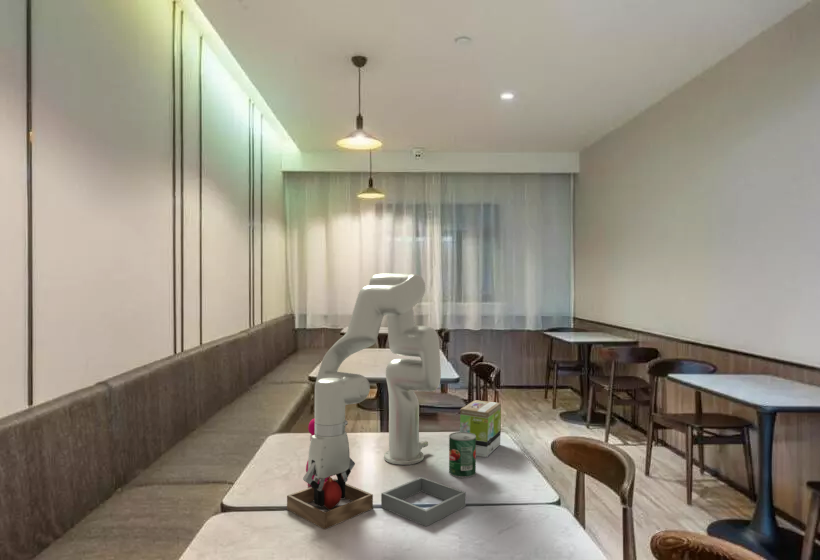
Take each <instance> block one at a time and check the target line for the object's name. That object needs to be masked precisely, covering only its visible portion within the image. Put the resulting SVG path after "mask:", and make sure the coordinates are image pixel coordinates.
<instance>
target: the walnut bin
mask: <svg viewBox="0 0 820 560" xmlns="http://www.w3.org/2000/svg"><path fill="white" fill-rule="evenodd" d="M332 479H333V480H334V481H336V480H338V479H336V478H332ZM373 498H374V495H373V494H372V493H370V492H367V491H365V490H364V489H363V490H362V489H361V488H358V487H355V486H353V485H351V484H349V483H347V482H345V498H344V499H347V500H349V501H350V502H347V503H344V504H342V505H340V506H337V507H334V508H332V509H331V510H328V511H324V510H321V509H319V508H318V507H316V506H313V505H311V504H310V503H312V502H314V489H313V488H312V487H310V486H309V487H307V488H304V489H302V490H298V491H296V492H294V493H291V494H288V495H286V510H287V511H289V512H291V513H292V514H294V515H297V516H298V517H300V518H303V519H304V520H306V521H308V522H310V523H312V524H314V525H316V526H318V527H319V528H321V529H323V530H327V529H328V528H331V527H333V526H336V525H338V524H340V523H342V522H345V521H347V520H349V519H352V518H355V517H357V516H359V515H361V514H363V512H364V513H366V512H368V511H370V510H372V509H374V504H373V503H374V499H373Z"/></svg>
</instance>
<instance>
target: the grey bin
mask: <svg viewBox="0 0 820 560" xmlns="http://www.w3.org/2000/svg"><path fill="white" fill-rule="evenodd" d="M422 491H423V492H422ZM418 492H419V493H421V492H422V493H425V494H428V495H430V494H431V496H433V497H436V498H438V499H441V500H443V501H441V502H439V503H437V504H434V505H432V506H431V507H429V508H426V509H425V508H423V507H421V506H418V505H415V504H414V503H413V504H412V503H411V502H408V501H406V500H405V499H408V498H409V497H411V496H414V495H416V494H419V493H418ZM466 495H467V494H466V491H463V490H460V489H458V488H454V487H452V486H449V485H446V484H443V483H440V482H437V481H434V480H432V479H429V478H426V477H423V476H420V477H418V478H415V479H413V480H410V481H408V482H405V483H403V484H401V485H398V486H395V487H394V488H393V487H392V488H391V489H389V490H386V491H384V492H381V495H380V496H381V500H380V501H381V506H380V507H381V508H382V509H385V510H387V511H390V512H391V513H393V514H397V515H399V516H401V517H403V518H405V519H408V520H410V521H413V522H415V523H417V524H420V525H421V526H424V527H428V526H430V525H432V524H433V523H436V522H438V521H440V520H441V519H443V518H446V517H447V516H449V515H451V514H453V513H455V512H457V511H459V510H461V509H463V508H465V507H466V503H467V502H466V499H467V496H466Z"/></svg>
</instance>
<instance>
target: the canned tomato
mask: <svg viewBox="0 0 820 560" xmlns="http://www.w3.org/2000/svg"><path fill="white" fill-rule="evenodd" d="M448 439H449V441H448V443H449V444H448V452H449V453H448V457H449V458H448V473H449V476H452V477H455V478H461V479H462V478H463V479H467V478H472V477H474V476H475V475H476V474H477V473H476V472H477V471H476V469H477V468H476V466H477V459H476V458H477V456H476V435H475V434H472V433H468V432H460V431H456V432H452V433H449V435H448Z"/></svg>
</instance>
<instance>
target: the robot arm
mask: <svg viewBox="0 0 820 560" xmlns="http://www.w3.org/2000/svg"><path fill="white" fill-rule="evenodd" d="M425 292H426V283H425V280H424V278H423V277H422V276H421V275H419V274H417V273H396V272H395V273H394V272H393V273H392V272H391V273H390V272H389V273H388V272H387V273H385V272H384V273H378V274H373V276H371V277H370V279H369V285H365V286H363V287H362V288H361V289H360V290H359V292H358V293H357V298H356V300H355V304H354V307H353V311H352V314H351V317H350V321H349V323H348V325H347V331H346V332H345V334H344V335H343V336H341V337H340V338H339V339H338V340H337V341H336V342H334V344H333V345H332V346H331V347H330V348H329V349H328V351H326V353H325V355H324V356H323V358H322V361H321V363H320V366H319V368H318V373H317V376H316V379H315V383H314V418H315V435H313V436H312V438H311V441H310V444H309V449H308V459H307V461H308V471H307V472H305V474H304V475H303V478H302V480H303V481H304V482H305V483H307V485H308V484H309V485H310V486H311V487H312V488H313V489H314V501H313V502H314V505H317V506H318V507H320V508H323V507H325V506H324V490H322V488H323V485H324V481H325V478H328V477H331V478H332V477H333V476H336V478H337V480H336V481H335V482H337V484H338V485H339V486H340V487H341V490H342V496H341V500H343V499H344V500H345V499H346V498H345V483H347V482H348V480H349V478H348V477H349V476H350V474H351V471H352V469H353V468H354V466H355V464H356V463H355V461H354V460H353V459H352V458H351V457H350V456H351V454H350V453H351V452H350V444H349V443H350V442H349V437H348V432H347V431H346V426H347V425H349V423H348V420H347V419H346V406H347V405H353V404H354V405H355V404H359V403H361V402H363V401H365V400H366V399H367V398H368V396H369V393H370V391H371V390H370V389H371V386H370V384H371V383H370V382H369V379H368V378H367V377H365V376H364V375H363V374H360V373H359V374H358V373H351V372H350V373H349V372H345V371H344V372H342V371H339V368H340V366H341V364H342V363H343V362H344V361H345V360H346V359H347V358H349V357H350V356H351V355H353V354H355V353H359V352H361V351H363V350H365V349H368V348H369V347H372V346H373V345H375V344H376V343H377V341H378V336H379V332H380V329H381V326H382V323H383V319H384V316H386V321H387V336H388V339H387V340H388V347H389V350H390V352H391V354H393V355H398V356H405V357H417V358H420V359H413V358H404V357H402V358H401V357H400V358H399V357H398V358H394V359H391V360H390V361H389V362H388V364H387V366H386V368H385V378H386V385H387V391H388V451H386V452H385V453H383V459H384V461H386V462H387V463H389V464H393V465H399V466H400V465H402V466H405V465H407V466H408V465H409V466H410V465H414V464H418V463H420V462H422V461H423V460H424V457H425V454H424V453H423V452H422V449H423V448H426V447H428V446H429V442H428V440H423V441H420V416H419V415H420V402H419V400H418V395H416V393H415V391H418V392H427V393H428V392H435V391H436V390H437V389H438V388H439V386H440V384H441V377H442V375H441V373H442V371H441V353H440V351H441V349H440V338H439V335H438V333H437V331H436V330H435V329H434V328H433V327H431V326H427V325H417V324H416V322H415V315H414V314H415V312H414V307H415V306H416V305H418V304H419V303H420V301H422V300H423V297H424V296H425ZM313 475H315V476H314V480H313V479H312V476H313ZM319 479H320V480H319ZM318 480H319V484H318ZM310 486H309V487H310Z"/></svg>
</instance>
